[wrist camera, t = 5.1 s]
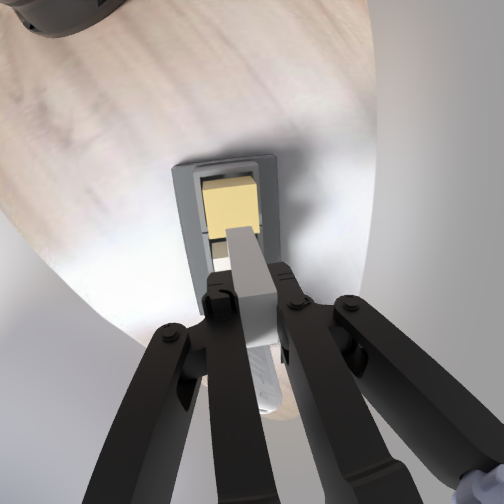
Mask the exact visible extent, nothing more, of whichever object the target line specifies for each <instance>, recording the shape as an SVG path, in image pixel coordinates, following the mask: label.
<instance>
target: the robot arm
mask: <svg viewBox="0 0 504 504" xmlns="http://www.w3.org/2000/svg"><path fill="white" fill-rule="evenodd" d="M124 1H125V0H0V3H3V4H6V5H8V6H11V7H12V9H13V10H14V11H15V13H16V14H17V16H18V17H19V19H20V20H21V22H22V23H23V25H24V26H25V27H26V28H27V29H28V30H29V31H31V32H32V33H35V34H38V35H40V36H43V37H47V38H60V37H65V36H69V35H72V34H75V33H78V32H80V31H82V30H84V29H86V28H88V27H90V26H92V25H94V24H95V23H97V22H99V21H100V20H102V19H103V18H105V17H106V16H107V15H109V14H110V13H111V12H113V11H114V10H115V9H116V8H117V7H118V6H120V5H121V4H122V3H123V2H124ZM225 231H226V239H227V247H228V255H229V262H230V270H225V271H218V272H211V273H210V275H209V276H208V278H207V292H206V293H205V294H204V295H203V296H202V300H201V302H202V306H203V310H204V315H205V318H204V320H203V321H201V322H200V323H199V324H197V325H195V326H192V327H189V328H186V327H185V326H183V325H182V324H179V323H168V324H165V325H163V326H161V327H160V328H158V329H157V330H156V332H155V333H154V335H153V337H152V339H151V341H150V343H149V345H148V347H147V349H146V351H145V353H144V355H143V357H142V359H141V361H140V363H139V366H138V368H137V370H136V372H135V374H134V376H133V378H132V381H131V383H130V385H129V387H128V389H127V392H126V394H125V396H124V398H123V400H122V403H121V405H120V407H119V409H118V412H117V414H116V416H115V419H114V421H113V424H112V426H111V428H110V431H109V433H108V435H107V438H106V440H105V443H104V445H103V448H102V450H101V453H100V455H99V458H98V460H97V463H96V466H95V468H94V471H93V473H92V476H91V479H90V482H89V485H88V487H87V490H86V493H85V496H84V499H83V501H82V504H170V502H171V497H172V493H173V489H174V485H175V481H176V477H177V472H178V469H179V465H180V461H181V457H182V453H183V449H184V445H185V441H186V438H187V434H188V430H189V426H190V422H191V418H192V415H193V411H194V407H195V403H196V399H197V395H198V392H199V388H200V384H201V381H202V376H205V375H207V379H208V396H209V411H210V424H211V436H212V447H213V458H214V467H215V476H216V485H217V493H218V504H281V503H280V499H279V497H278V493H277V489H276V485H275V481H274V476H273V472H272V467H271V463H270V458H269V454H268V450H267V445H266V441H265V436H264V431H263V427H262V422H261V417H260V412H259V407H258V402H257V398H256V393H255V388H254V383H253V378H252V373H251V368H250V363H249V357H248V352H247V348H251V347H257V346H263V345H269V344H275V343H278V336H279V339H280V342H281V363H284V364H285V367H286V370H287V374H288V377H289V380H290V383H291V386H292V390H293V393H294V396H295V399H296V403H297V406H298V409H299V412H300V416H301V419H302V422H303V425H304V429H305V432H306V435H307V438H308V442H309V445H310V448H311V451H312V454H313V458H314V461H315V464H316V467H317V471H318V473H319V477H320V480H321V483H322V487H323V489H324V493H325V504H423V501H422V499H421V497H420V494H419V492H418V490H417V487H416V485H415V483H414V481H413V479H412V476H411V474H410V472H409V470H408V469H407V467H406V465H405V464H404V463H402V462H401V461H399V460H396V459H394V458H393V457H392V456H391V455H390V453H389V451H388V449H387V447H386V444H385V442H384V440H383V438H382V436H381V434H380V432H379V429H378V427H377V425H376V423H375V421H374V419H373V417H372V415H371V413H370V411H369V409H368V406H367V405H366V402H365V401H364V398H363V396H364V397H365V398H366V399H367V400H368V401H369V402H370V404H371V405H372V406H373V407H374V408H375V409H376V410H377V412H378V413H379V414H380V415H381V416H382V417H383V419H384V420H385V421H386V422H387V423H388V424H389V425H390V426H391V428H392V429H393V430H394V431H395V432H396V433H397V434H398V436H399V437H400V438H401V439H402V440H403V441H404V442H405V444H406V445H407V446H408V447H409V448H410V449H411V450H412V452H413V453H414V454H415V455H416V456H417V457H418V458H419V459H420V461H421V462H422V463H423V464H424V465H425V466H426V467H427V468H428V470H429V471H430V472H431V473H432V474H433V475H434V476H435V477H436V478H437V479H438V480H440V481H441V482H442V483H444V484H445V485H446V486H448V487H450V488H452V489H454V490H456V491H455V493H454V494H453V496H452V503H453V504H504V424H502V423H501V422H500V421H499V420H498V419H497V418H496V417H495V416H494V415H493V414H492V413H491V412H490V411H489V410H488V409H487V408H486V407H485V406H484V405H483V404H482V403H481V402H480V401H479V400H478V399H476V397H474V396H473V395H472V394H471V393H470V392H469V391H468V390H467V389H466V388H465V387H464V386H463V385H462V384H461V383H459V382H458V381H457V380H456V379H455V378H454V377H453V376H452V375H450V374H449V373H448V372H447V371H446V370H445V369H444V368H443V367H442V366H441V365H440V364H438V363H437V362H436V361H435V360H434V359H433V358H432V357H431V356H429V355H428V354H427V353H426V352H425V351H423V350H422V349H421V348H420V347H419V346H418V345H417V344H416V343H415V342H413V341H412V340H411V339H410V338H409V337H408V336H406V335H405V334H404V333H403V332H402V331H401V330H399V329H398V328H397V327H396V326H395V325H394V324H392V323H391V322H390V321H389V320H388V319H386V318H385V317H384V316H383V315H382V314H380V313H379V312H378V311H377V310H376V309H374V308H373V307H372V306H371V305H370V304H368V303H367V302H366V301H365V300H363V299H361V298H360V297H358V296H354V295H344V296H341V297H339V298H337V299H336V301H335V303H334V305H321V304H316V303H314V301H313V300H312V299H311V298H310V297H309V296H307V295H304V293H303V291H302V290H301V288H300V286H299V284H298V282H297V280H296V278H295V276H294V274H293V272H292V270H291V268H290V267H289V266H288V265H287V264H285V263H284V262H277V263H270V264H266V262H265V259H264V257H263V254H262V252H261V249H260V247H259V244H258V241H257V239H256V236H255V234H254V231H253V229H252V226H245V227H237V228H229V229H225ZM361 393H362V394H363V396H362V394H361Z"/></svg>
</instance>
